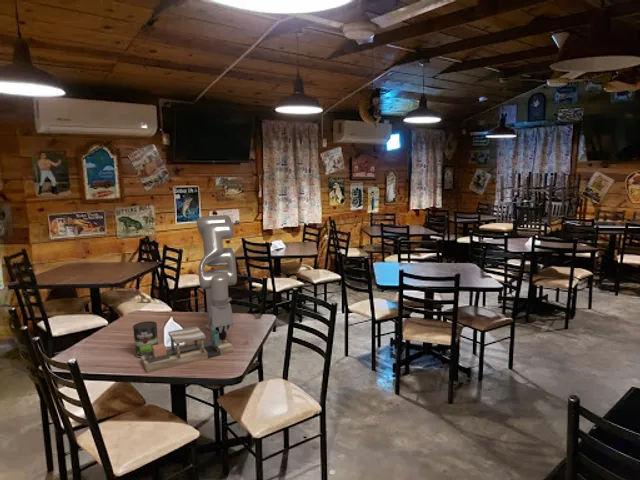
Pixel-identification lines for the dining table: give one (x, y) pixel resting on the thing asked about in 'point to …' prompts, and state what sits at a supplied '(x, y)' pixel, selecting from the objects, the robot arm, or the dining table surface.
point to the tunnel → (190, 355)
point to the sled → (186, 348)
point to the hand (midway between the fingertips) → (223, 339)
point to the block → (159, 350)
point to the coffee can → (145, 337)
